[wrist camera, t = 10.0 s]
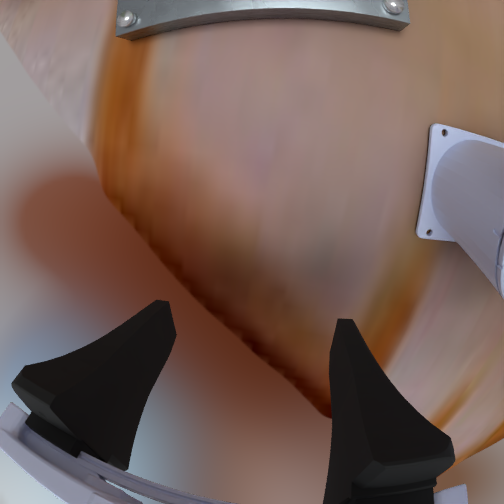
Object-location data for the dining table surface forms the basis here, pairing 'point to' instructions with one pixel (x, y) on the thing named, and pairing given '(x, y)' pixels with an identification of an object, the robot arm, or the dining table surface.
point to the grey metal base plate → (251, 13)
